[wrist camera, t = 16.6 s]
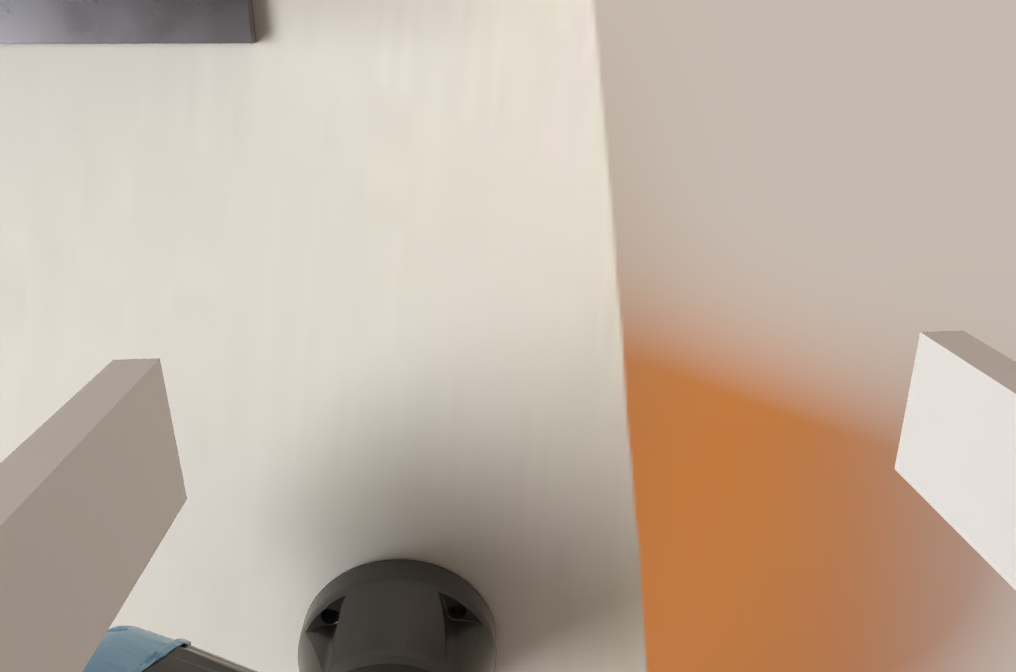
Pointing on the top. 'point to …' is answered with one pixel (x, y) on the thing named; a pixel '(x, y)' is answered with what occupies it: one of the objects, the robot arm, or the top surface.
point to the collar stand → (126, 21)
